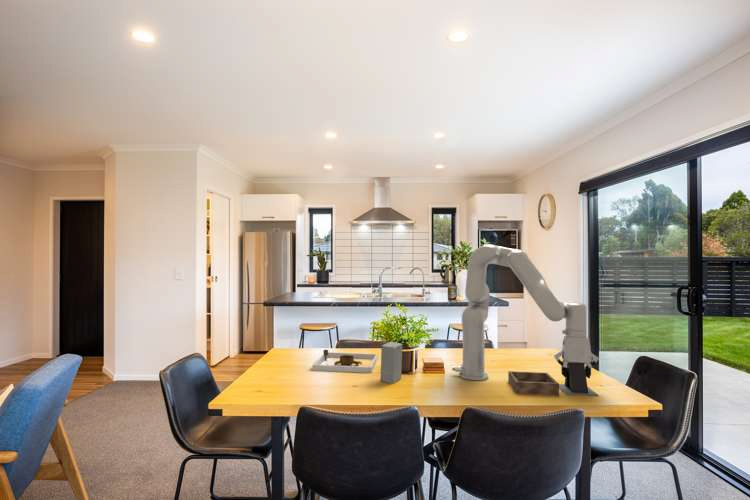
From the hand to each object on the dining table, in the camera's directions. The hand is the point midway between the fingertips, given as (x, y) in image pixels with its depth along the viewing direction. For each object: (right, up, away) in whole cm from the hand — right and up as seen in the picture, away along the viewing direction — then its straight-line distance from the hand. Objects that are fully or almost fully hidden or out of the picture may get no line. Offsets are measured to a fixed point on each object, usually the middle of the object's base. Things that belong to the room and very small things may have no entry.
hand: (576, 376), depth 161 cm
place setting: (-97, -6, +39) cm, 105 cm away
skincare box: (-74, -5, +11) cm, 75 cm away
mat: (0, -5, 0) cm, 5 cm away
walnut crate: (-17, -5, +2) cm, 18 cm away
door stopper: (0, -5, 0) cm, 5 cm away
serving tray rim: (-95, -6, +37) cm, 102 cm away
